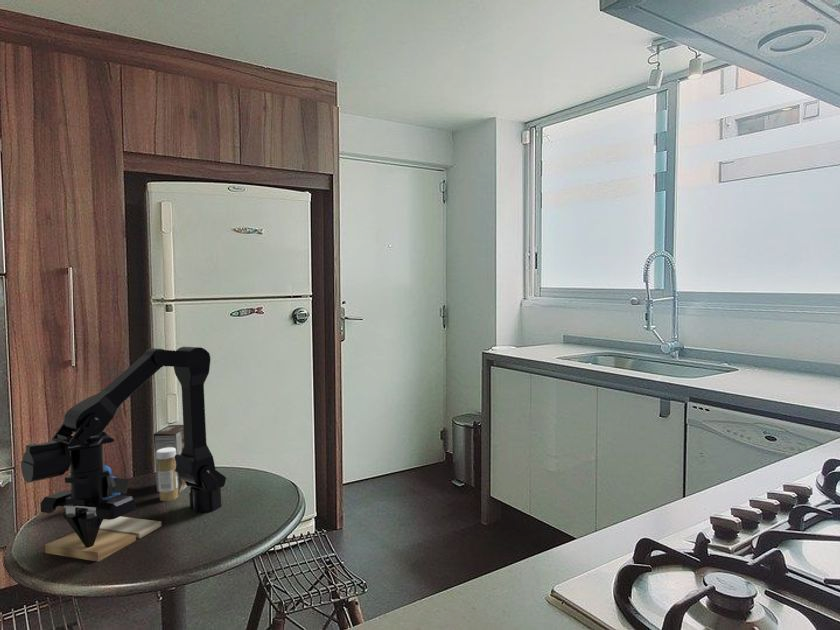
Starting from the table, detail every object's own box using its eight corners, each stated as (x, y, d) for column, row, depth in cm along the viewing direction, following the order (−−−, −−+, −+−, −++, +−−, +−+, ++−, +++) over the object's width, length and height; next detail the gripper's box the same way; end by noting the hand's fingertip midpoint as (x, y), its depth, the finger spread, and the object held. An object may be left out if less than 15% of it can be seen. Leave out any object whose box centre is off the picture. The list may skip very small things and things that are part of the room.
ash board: (161, 530, 120) (161, 521, 120) (139, 542, 115) (139, 533, 114) (112, 524, 125) (112, 515, 125) (89, 535, 119) (89, 526, 119)
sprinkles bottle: (182, 498, 139) (179, 446, 138) (171, 505, 134) (168, 452, 134) (166, 498, 140) (163, 446, 139) (155, 505, 135) (151, 451, 135)
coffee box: (172, 481, 152) (169, 424, 151) (195, 480, 152) (192, 423, 151) (155, 493, 143) (152, 433, 142) (179, 493, 143) (176, 432, 142)
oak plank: (135, 545, 114) (135, 535, 114) (98, 563, 105) (98, 552, 105) (85, 537, 118) (85, 528, 118) (45, 554, 109) (45, 544, 109)
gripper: (155, 460, 113) (158, 535, 113) (86, 456, 119) (89, 527, 119) (110, 476, 102) (113, 558, 102) (37, 470, 108) (40, 548, 108)
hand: (89, 547), depth 108 cm, fingers closed, pressing on oak plank
